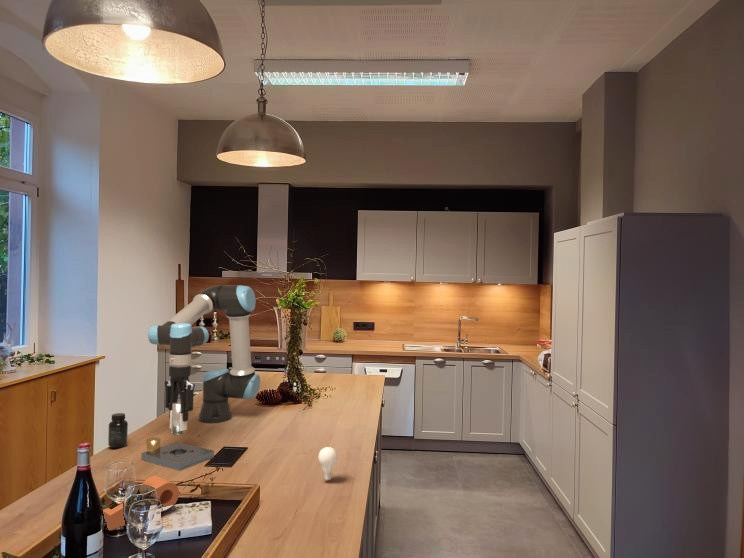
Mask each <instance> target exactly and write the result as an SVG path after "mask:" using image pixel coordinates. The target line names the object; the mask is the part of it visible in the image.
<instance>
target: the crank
mask: <svg viewBox="0 0 744 558" xmlns="http://www.w3.org/2000/svg"><path fill="white" fill-rule="evenodd" d="M142 484H146V485H149V486H152V487H154V488H156V489H157V496H158V499H159V501H161V502H162V505H163V506H164V507H165V506H170V505H175V504H176V503H177V501H178V499H179V496H180V488H179V487H178V485H177V484H175V483H174V482H172V481H170V480H168V479H165V478H164V477H162V476H159V475H152V476H150V477H147V479H145V480H144V482H143V483H142ZM123 503H124V502H122V503H120V504H118V505H117V506H115V507H113V508H112V509H111V508H110V507H106V508H104V509H102V510H103V514H104V519H105V521H106V522H107V528H108V529H107V528H106V529H107V530H108V531H113V530H115V529H118V528H120V527H119V526H121V527H123V526H124V527H125V526H126V525H125V520H124V516H123ZM117 527H118V528H117Z"/></svg>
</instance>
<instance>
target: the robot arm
mask: <svg viewBox="0 0 744 558" xmlns="http://www.w3.org/2000/svg"><path fill="white" fill-rule="evenodd" d="M256 303H257V301H256V295H255V291H254V290H253V288H251V287H250V286H249V285H248V286H247V285H242V284H241V285H240V284H236V285H235V284H234V285H231V284H228V285H227V284H218V285H213V286H210V287H207V288H205V289H204V290H202V291H200V292H199V293H198V294H196V295H195V296H194V297H193V299H192V301H191V302H189V303H188V304H187V305H186V306H185V307H183V308H182V309H181V310H179V311H178V312H177V313H176V314H174V315H173V316H172V317H170V318H169V319H168V320H167V321H166V322H164V323H163V324H162V325H159V324H157V325H152V326H151V327H150V328H149V329H148V333H147V338H148V342H149V343H151V344H152V345H155V346H157V345H158V346H169V360H168V361H169V365H170V366H169V367H168V376H169V377H170V380H166V381H165V380H164V388H165V397H164V398H165V400H164V404H165V405H164V407H165V408H166V409H168V410H169V413H168V417H169V429H171V430H172V403H173V402H178V399H180V401H179V402H181V408H182V412H180V431H183V430H185V431H186V430H188V421H189V412H192V411H193V410H194V395H195V394H194V391H195V386H196V384H195V383H193V384H192V383H190V378H189V377H190V376H191V373H192V369H191V368H192V367H191V364H192V348H194V347H201V346H203V345H205V344H207V342H208V340H209V337H210V334H209V331H208V329H207V328H206V327H204V326H192V325H194V323H196V322H197V321H198V320H199V319H200V318H202V317H203V316H204V315H207V314H209V313H211V312H212V311H224V312H225V314H224V315H225V317H226V318H228V321H229V323H228V324H229V337H230V348H231V349H230V351H231V365H232V368H231V369H230V370H229V369H228V368H220V369H212V370H208V371H205V372H204V374H203V379H202V390H203V391H202V405H201V407H200V411H199V414H198V421H200V422H203V423H206V424H207V423H209V424H211V423H214V424H215V423H223V422H227V421H230V420H231V419H232V417H233V415H232V414H233V413H232V410H231V408H230V404H229V399H239V400H240V399H241V400H252V399H254V398H255V397H256V396H257V394H258V392H259V389H260V386H261V376H260V375H259V374H258V373H256V368H255V367H253V366H252V356H251V355H252V354H251V339H250V325H249V324H250V323H249V317H250V316H251V315H252V312H253V311H254V310H255V309H256Z"/></svg>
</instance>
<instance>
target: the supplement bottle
mask: <svg viewBox="0 0 744 558" xmlns="http://www.w3.org/2000/svg"><path fill="white" fill-rule="evenodd" d="M128 425H129V423H128V421H127V420H126V413H123V412H122V413H121V412H118V413H113V414H111V421H110V422H109V423H108V435H107V437H108V439H107V440H108V441H107V443H108V444H107V445H108V446H109V447H110V448H121V447H124V446H126V445H127V444H128V430H129V429H128Z"/></svg>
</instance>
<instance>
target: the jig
mask: <svg viewBox="0 0 744 558" xmlns="http://www.w3.org/2000/svg"><path fill="white" fill-rule="evenodd" d="M214 458H215V450H213V449H208V448H204V447H200V446H195V445H192V444H189V443H183V442H180V441H175V442H172V443H169V444H166V445H163V446H161V438H160V437H158V436H157V437H150V438H147V439H146V451H144V452H141V461H143V462H147V463H151V464H155V465H158V466H161V467H166V468H169V469H173V470H176V471H178V472H179V471H183V470H185V469H188V468H190V467H193V466H196V465H198V464H201V463H204V462H205V461H209V460H211V459H214Z"/></svg>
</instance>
